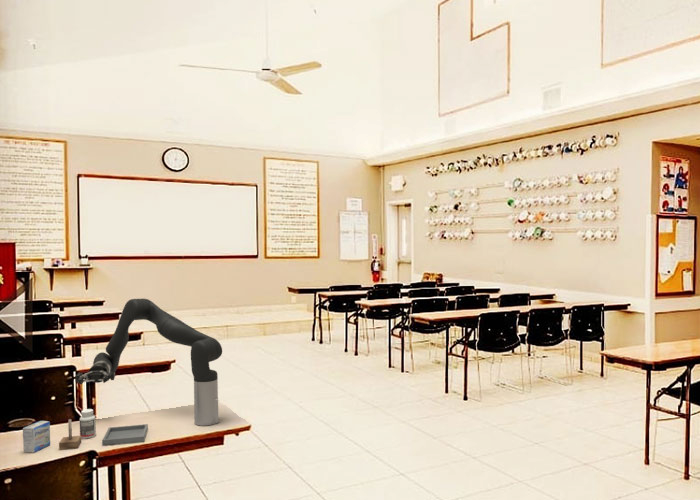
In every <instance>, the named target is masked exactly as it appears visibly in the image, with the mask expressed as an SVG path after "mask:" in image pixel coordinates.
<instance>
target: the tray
mask: <svg viewBox="0 0 700 500" xmlns="http://www.w3.org/2000/svg"><path fill="white" fill-rule="evenodd" d="M148 430H149V424H148V423H145V424H135V425H122V426H113V427H112V426H111V427H108V429H107V431H106V432H105V434H104V436H103V438H102V440H101V443H102V444H101V445H102V447H105V446H114V445H115V446H117V445H124V444H125V445H126V444H136V443H138V444H139V443H144V442H145V439H146V437H147V433H148Z"/></svg>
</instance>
